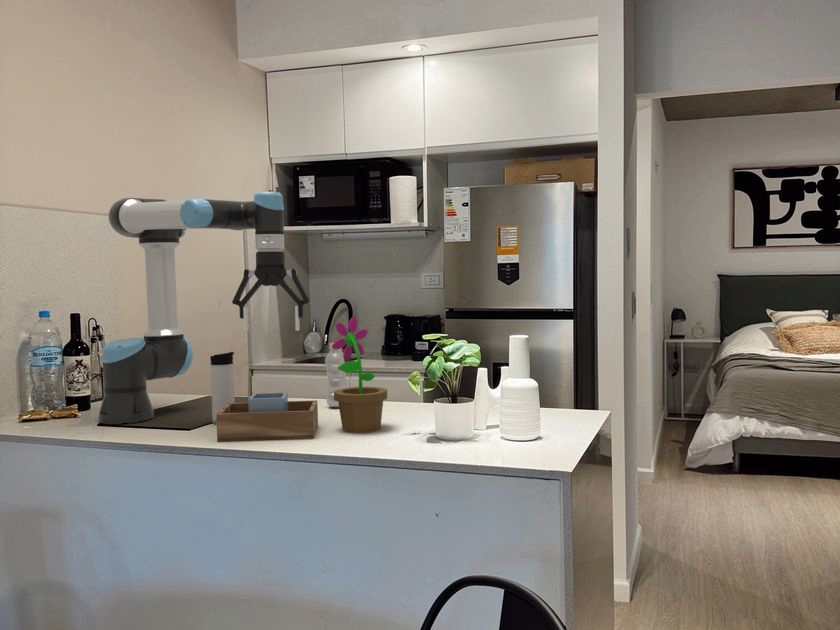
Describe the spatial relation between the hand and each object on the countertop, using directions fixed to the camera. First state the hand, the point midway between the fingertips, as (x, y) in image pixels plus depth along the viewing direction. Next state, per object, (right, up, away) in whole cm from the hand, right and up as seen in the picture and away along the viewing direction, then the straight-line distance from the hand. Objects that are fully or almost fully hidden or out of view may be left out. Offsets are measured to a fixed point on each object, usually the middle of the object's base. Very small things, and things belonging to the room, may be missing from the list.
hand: (272, 330), depth 206 cm
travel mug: (-16, -26, +12) cm, 33 cm away
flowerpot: (+24, -26, 0) cm, 36 cm away
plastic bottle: (+14, -25, +32) cm, 43 cm away
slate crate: (0, -26, -4) cm, 26 cm away
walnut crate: (0, -27, -4) cm, 27 cm away
